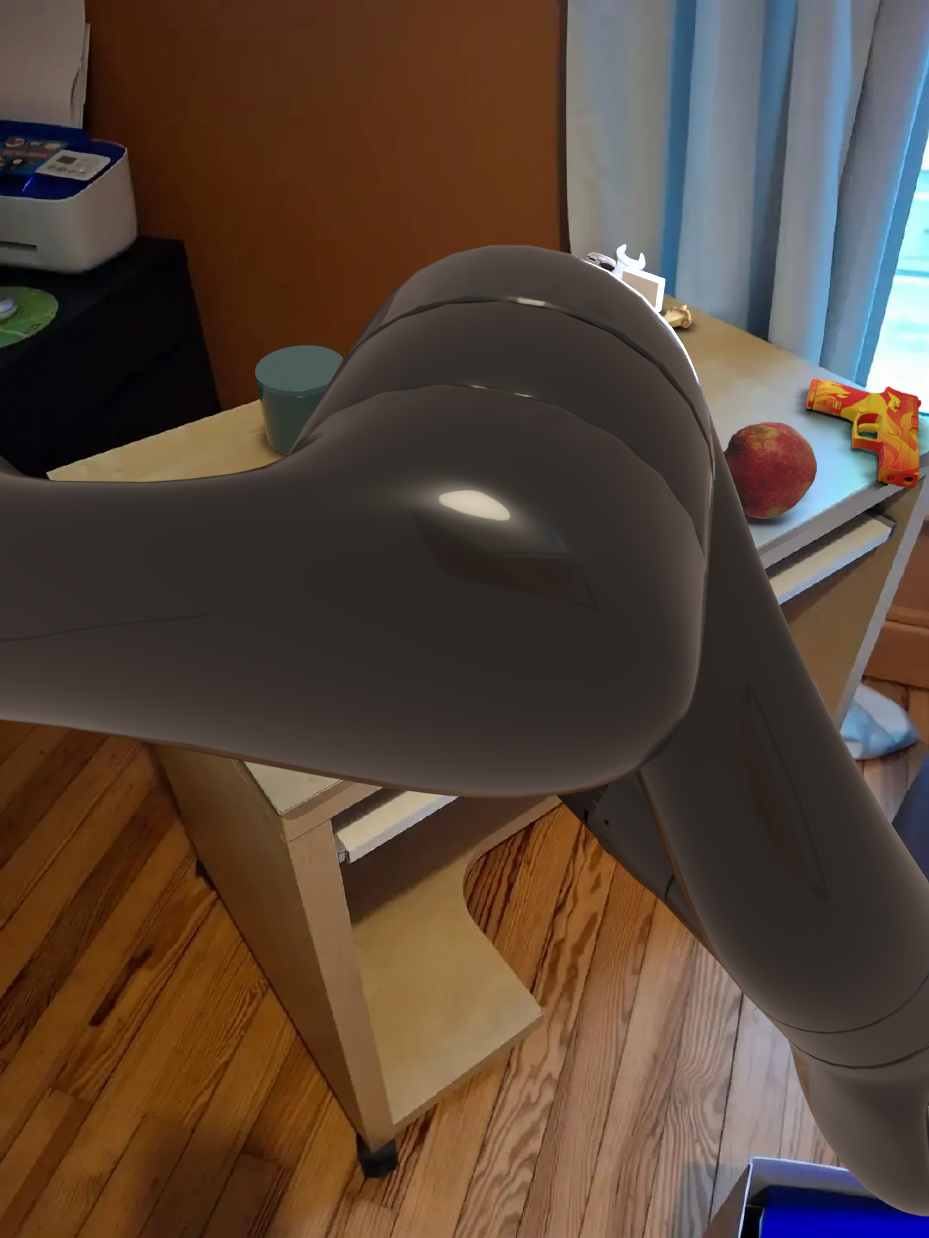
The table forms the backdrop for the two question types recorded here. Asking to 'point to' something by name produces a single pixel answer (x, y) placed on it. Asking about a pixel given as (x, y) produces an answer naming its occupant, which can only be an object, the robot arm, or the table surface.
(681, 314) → the bone model
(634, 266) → the combination wrench
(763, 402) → the table surface
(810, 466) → the fruit
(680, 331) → the table surface
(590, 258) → the wristwatch
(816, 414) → the table surface
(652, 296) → the eraser
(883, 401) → the toy gun
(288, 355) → the teal lidded canister
